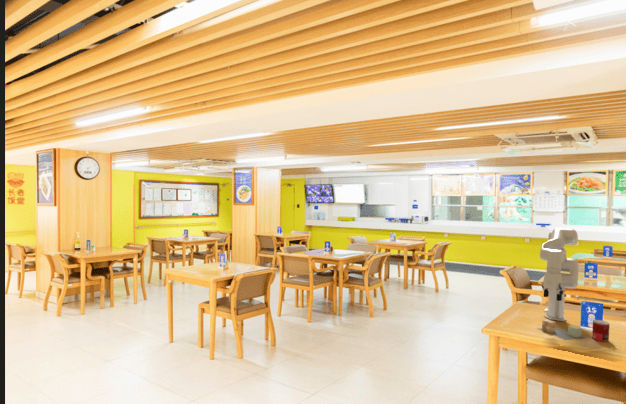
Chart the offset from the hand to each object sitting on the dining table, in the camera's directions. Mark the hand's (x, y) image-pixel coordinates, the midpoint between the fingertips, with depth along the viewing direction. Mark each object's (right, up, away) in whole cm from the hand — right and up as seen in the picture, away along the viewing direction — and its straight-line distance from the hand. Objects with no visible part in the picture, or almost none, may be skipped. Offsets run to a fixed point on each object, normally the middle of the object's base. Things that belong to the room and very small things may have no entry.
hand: (552, 298), depth 249 cm
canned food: (+21, -22, -12) cm, 33 cm away
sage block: (+10, -21, -6) cm, 24 cm away
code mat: (+3, -21, -3) cm, 21 cm away
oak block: (-2, -20, +1) cm, 20 cm away
